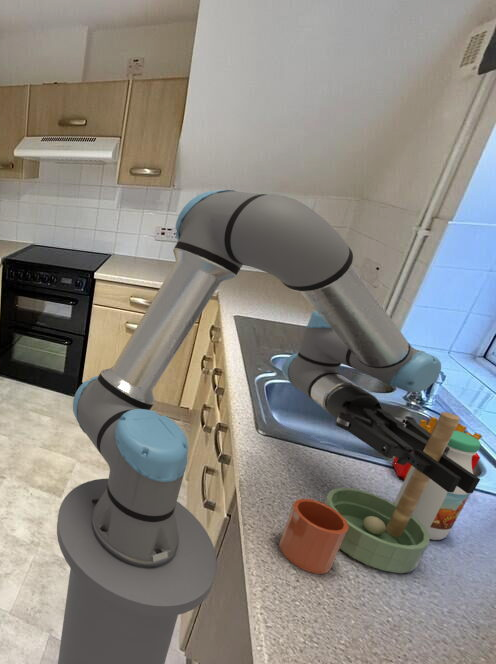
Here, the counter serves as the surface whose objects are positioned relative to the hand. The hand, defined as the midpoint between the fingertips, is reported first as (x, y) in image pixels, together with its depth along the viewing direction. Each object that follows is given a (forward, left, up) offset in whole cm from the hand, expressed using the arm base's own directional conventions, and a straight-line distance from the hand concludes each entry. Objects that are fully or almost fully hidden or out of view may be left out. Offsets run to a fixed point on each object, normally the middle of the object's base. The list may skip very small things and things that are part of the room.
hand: (463, 485), depth 61 cm
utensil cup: (-15, -4, -19) cm, 25 cm away
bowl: (-5, +5, -19) cm, 20 cm away
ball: (-4, +8, -17) cm, 19 cm away
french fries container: (+11, +32, -19) cm, 39 cm away
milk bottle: (+5, +15, -19) cm, 25 cm away
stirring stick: (-2, +5, -15) cm, 16 cm away
